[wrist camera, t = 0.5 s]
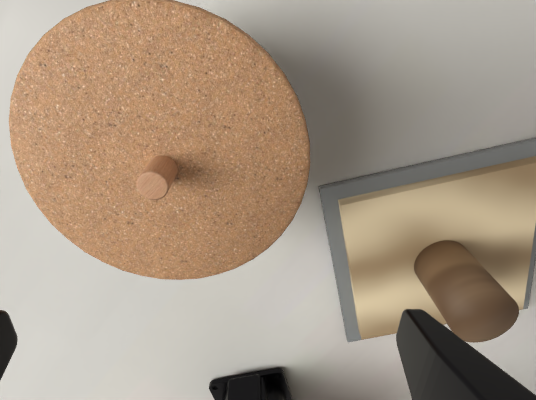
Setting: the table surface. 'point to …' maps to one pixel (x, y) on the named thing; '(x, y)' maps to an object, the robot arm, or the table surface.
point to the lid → (443, 250)
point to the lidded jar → (159, 138)
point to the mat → (399, 178)
